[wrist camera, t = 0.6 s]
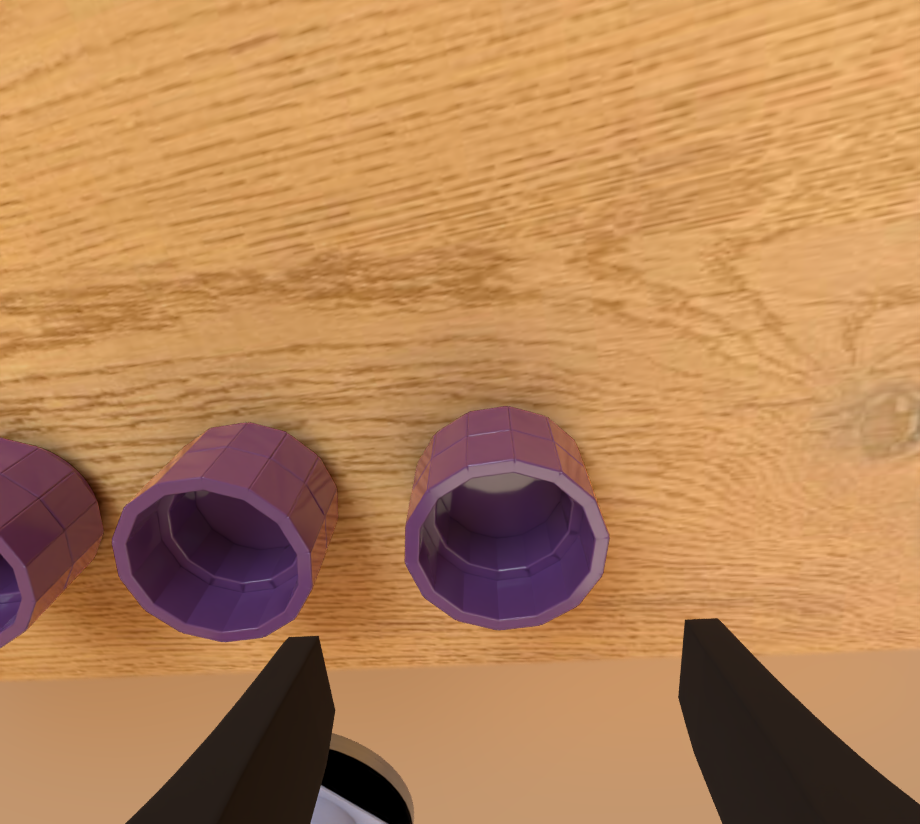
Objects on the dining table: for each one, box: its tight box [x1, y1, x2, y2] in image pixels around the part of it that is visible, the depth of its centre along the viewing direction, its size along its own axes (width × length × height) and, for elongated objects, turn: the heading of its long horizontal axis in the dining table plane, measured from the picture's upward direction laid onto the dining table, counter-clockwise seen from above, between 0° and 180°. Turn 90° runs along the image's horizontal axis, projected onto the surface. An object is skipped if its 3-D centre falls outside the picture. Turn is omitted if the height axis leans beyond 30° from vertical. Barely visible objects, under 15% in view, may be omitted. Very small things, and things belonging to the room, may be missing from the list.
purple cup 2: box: [405, 406, 610, 630], centre depth 18 cm, size 5×6×4 cm
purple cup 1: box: [112, 422, 338, 642], centre depth 18 cm, size 5×6×4 cm
